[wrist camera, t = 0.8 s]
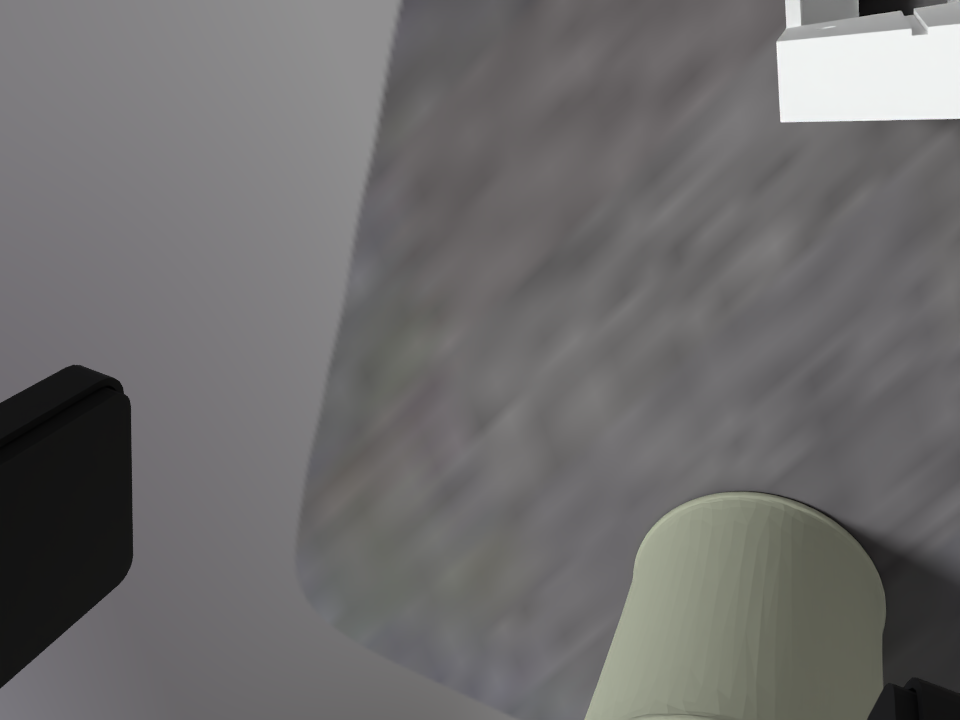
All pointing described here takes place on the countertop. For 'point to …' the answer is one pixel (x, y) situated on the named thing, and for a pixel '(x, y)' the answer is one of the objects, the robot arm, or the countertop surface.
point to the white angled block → (868, 63)
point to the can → (746, 618)
